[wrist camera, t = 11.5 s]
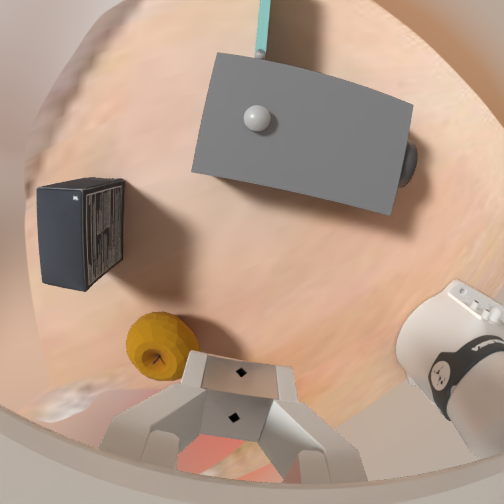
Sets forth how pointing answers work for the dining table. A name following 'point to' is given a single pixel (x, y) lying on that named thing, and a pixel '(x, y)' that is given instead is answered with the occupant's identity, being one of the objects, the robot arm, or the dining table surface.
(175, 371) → the apple
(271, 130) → the block
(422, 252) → the dining table surface
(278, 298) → the dining table surface
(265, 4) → the side door
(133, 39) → the dining table surface
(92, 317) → the dining table surface
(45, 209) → the small box
